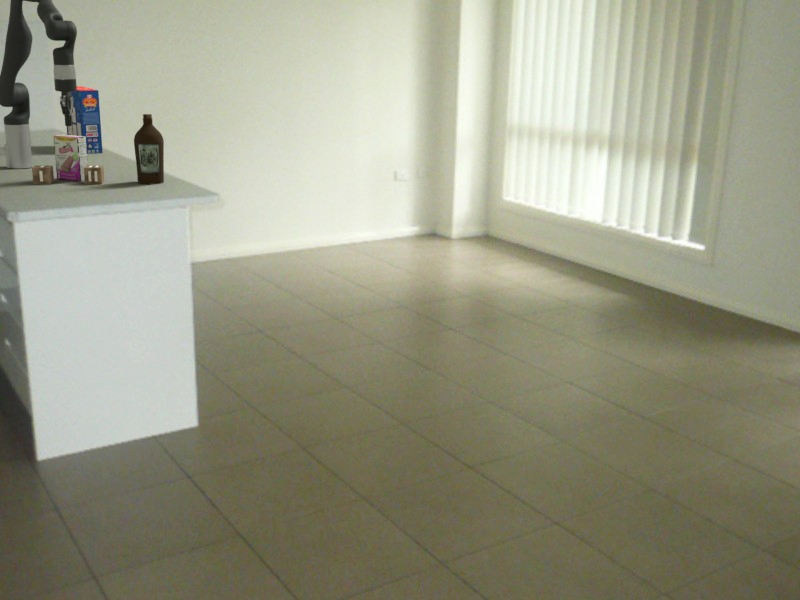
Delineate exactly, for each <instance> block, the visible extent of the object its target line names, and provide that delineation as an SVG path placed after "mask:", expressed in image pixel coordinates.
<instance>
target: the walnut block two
mask: <svg viewBox="0 0 800 600" xmlns="http://www.w3.org/2000/svg"><path fill="white" fill-rule="evenodd" d="M104 169H105V168H104V165H88V166H86V167H84V178H85V181H84V185H103V184H104V183H105V171H104Z"/></svg>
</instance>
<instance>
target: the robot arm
mask: <svg viewBox="0 0 800 600" xmlns="http://www.w3.org/2000/svg"><path fill="white" fill-rule="evenodd" d="M23 1H24V2H30V3H38V4H37V7H36V13H37V16H38V17H39V19H40V21H41V22H42V23H43V25H44V28H45V35H46V36H47V38H48V39H49V40H50V41H54V42H64V44H63V46H59V47H56V48H54V49H53V50H52V57H53V58H52V61H53V81H54V90H55V91H56V92H61V93H60V94H61V95H60V96H59V100H60V101H59V104H60V107H61V113H62V115H63V116H64V125H65V127H67V126H72V116H71V115H72V113H73V101H74V100H73V96H72V95H71V91H76V90H77V87H78V86H77V74H76V68H75V58H74V56H75V55H74V51H75V44H76V41H77V40H76V39H77V35H78V34H77V33H78V30H77V25H76V24H75V23H74V22H73V21H72V20H64V17H63V15H62V13H61V12H60V11H59V10H58V8H57V7H56V6H55V4H54V2H53V1H52V0H10V3H9V5H10V6H9V17H8V25H7V29H6V36H5V44H4V52H3V59H2V65H1V70H0V106H1V107H5V108H12V109H11V111H10V112H9V114H7V115H5V116H4V117H3V128H4V135H5V136H4V137H5V143H4V152H5V153H4V154H5V161H6V162H5V163H6V169H29V168H33V167H34V163H33V162H34V161H33V154H32V142H31V131H30V117H31V106H30V104H31V102H30V93H29V89H28V87H27V86H26V85H25V84H24V83H22V82H16V79H17V77H18V76H17V75H18V74H19V72H20V70H21V69H22V68H23V67H24V64H25V63H26V62H27V61H28V58H29V57H30V55H31V51H32V46H33V45H32V44H33V34H32V31H31V28H30V26H29V25H28V22H27V21H26V18H25V15H24V12H23V3H24V2H23Z"/></svg>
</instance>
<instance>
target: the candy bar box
mask: <svg viewBox="0 0 800 600" xmlns="http://www.w3.org/2000/svg"><path fill="white" fill-rule="evenodd" d="M53 145H54V146H53V147H54V148H53V149H54V155H55V156H54V159H55V169H56V180H62V181H63V180H64V181H70V182H71V181H73V182H85V178H84V167H86V166H89V165H88V154H87V147H86V137H85V136H74V135H67V134H55V135H53Z"/></svg>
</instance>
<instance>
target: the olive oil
mask: <svg viewBox="0 0 800 600" xmlns="http://www.w3.org/2000/svg"><path fill="white" fill-rule="evenodd" d="M142 116H143V117H142V126H141V127H140V128H139V129H138V130H137V131H136V133H135V135H134V137H133V144H134V145H133V146H134V147H133V148H134V153H135V154H134V156H135V163H136V164H135V165H136V176H137V183H138V184H141V185H158V184H164V181H165V170H164V166H165V165H164V163H165V162H164V160H165V159H164V157H165V156H164V155H165V154H164V146H165V142H164V138H163V135H162V133H161V132H160V131H159V130H158V129H157V128H156V126H154V124H153V117H152V116H153V114H151V113H145V114H142Z"/></svg>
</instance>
